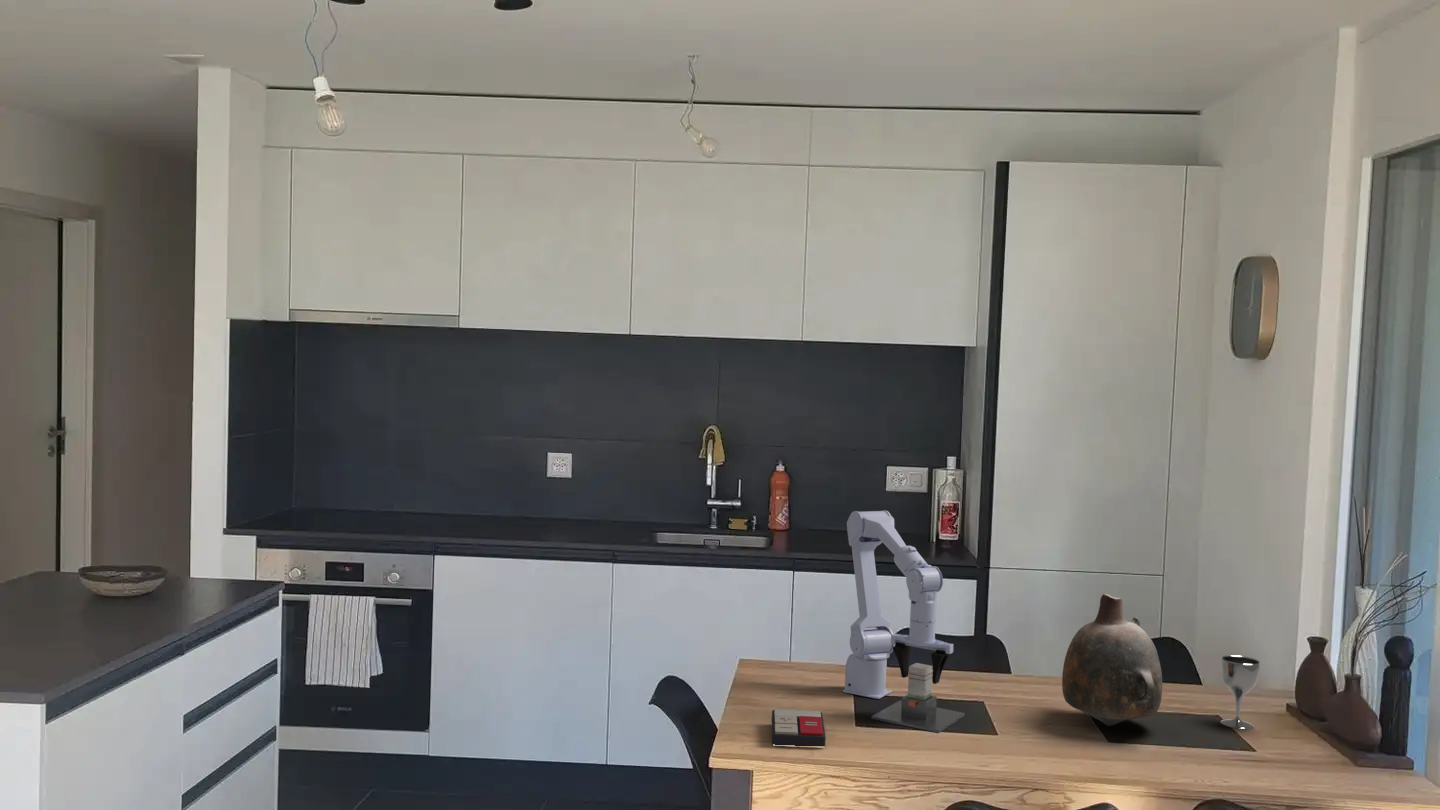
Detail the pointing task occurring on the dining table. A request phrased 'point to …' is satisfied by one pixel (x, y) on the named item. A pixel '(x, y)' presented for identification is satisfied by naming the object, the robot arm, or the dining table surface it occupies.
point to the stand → (919, 714)
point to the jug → (1112, 668)
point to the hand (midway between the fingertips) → (920, 679)
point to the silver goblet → (1239, 683)
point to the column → (920, 682)
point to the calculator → (798, 728)
